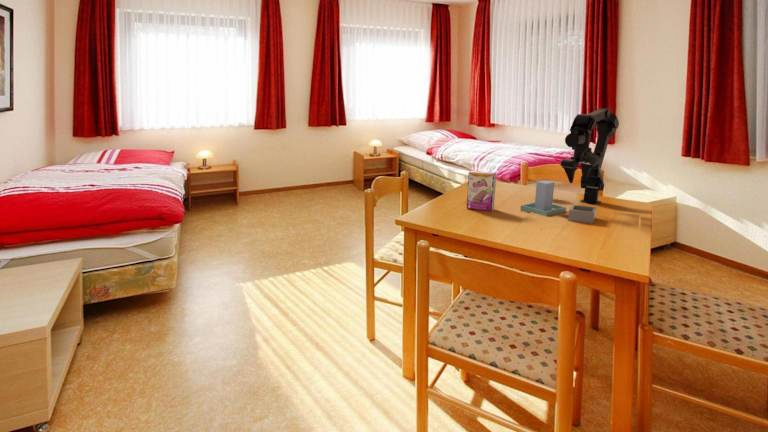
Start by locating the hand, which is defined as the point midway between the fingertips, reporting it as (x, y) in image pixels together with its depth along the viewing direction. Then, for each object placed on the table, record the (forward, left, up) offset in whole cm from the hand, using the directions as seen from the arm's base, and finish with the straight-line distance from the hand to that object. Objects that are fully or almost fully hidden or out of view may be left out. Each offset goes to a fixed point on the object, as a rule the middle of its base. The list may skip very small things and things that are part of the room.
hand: (577, 181), depth 199 cm
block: (+15, -5, -11) cm, 19 cm away
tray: (+15, -5, -12) cm, 20 cm away
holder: (+13, +13, -12) cm, 22 cm away
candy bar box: (+34, -23, -12) cm, 43 cm away
